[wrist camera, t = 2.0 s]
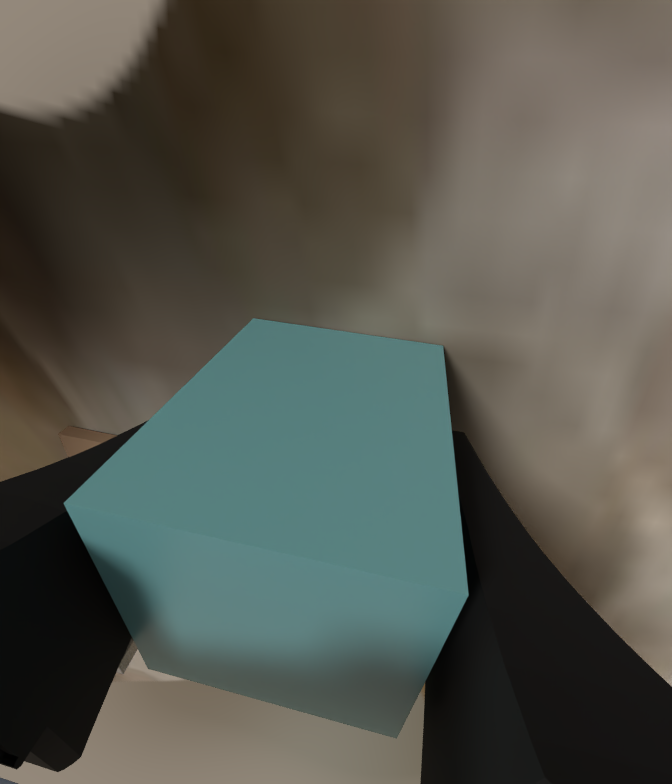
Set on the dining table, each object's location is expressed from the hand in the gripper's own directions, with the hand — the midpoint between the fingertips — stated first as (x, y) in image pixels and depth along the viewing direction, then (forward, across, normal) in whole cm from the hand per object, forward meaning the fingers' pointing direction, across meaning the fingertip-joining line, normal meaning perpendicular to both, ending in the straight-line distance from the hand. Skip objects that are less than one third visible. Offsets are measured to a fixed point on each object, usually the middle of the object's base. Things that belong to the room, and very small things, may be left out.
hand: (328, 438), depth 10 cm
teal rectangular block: (+1, 0, 0) cm, 1 cm away
